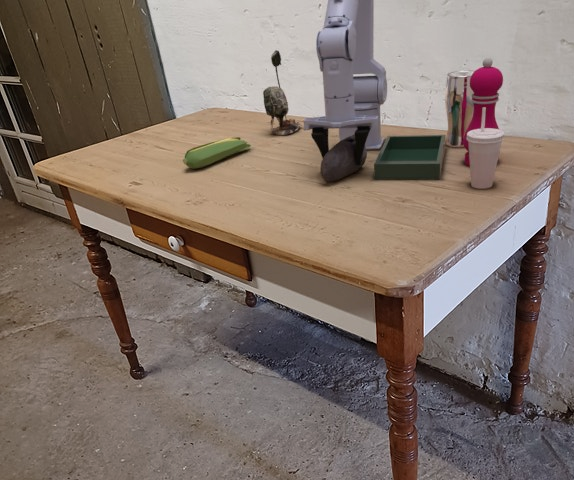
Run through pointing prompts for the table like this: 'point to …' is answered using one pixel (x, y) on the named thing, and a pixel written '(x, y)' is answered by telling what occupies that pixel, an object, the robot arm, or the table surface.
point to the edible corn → (213, 152)
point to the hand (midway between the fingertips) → (342, 163)
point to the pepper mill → (483, 98)
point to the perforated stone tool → (341, 160)
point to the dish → (410, 157)
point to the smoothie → (483, 154)
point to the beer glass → (458, 106)
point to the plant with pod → (278, 104)
